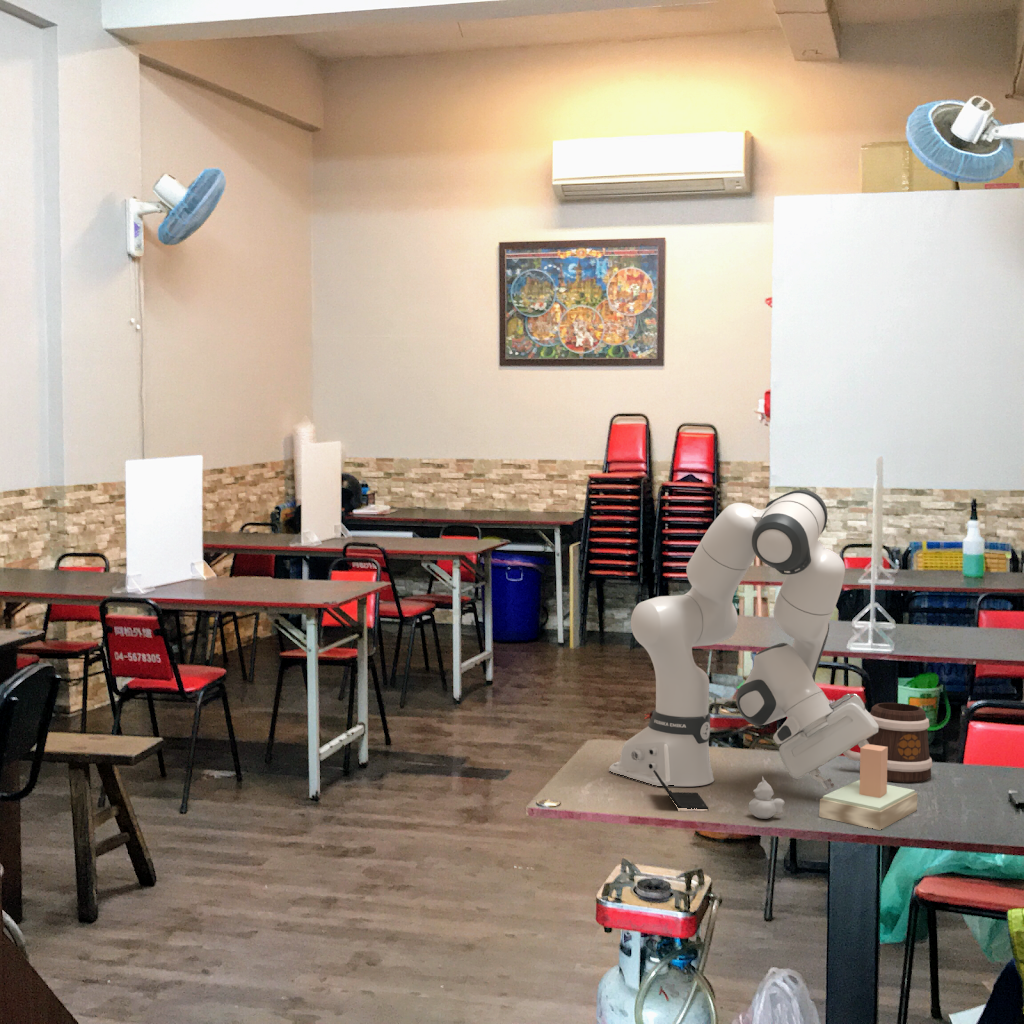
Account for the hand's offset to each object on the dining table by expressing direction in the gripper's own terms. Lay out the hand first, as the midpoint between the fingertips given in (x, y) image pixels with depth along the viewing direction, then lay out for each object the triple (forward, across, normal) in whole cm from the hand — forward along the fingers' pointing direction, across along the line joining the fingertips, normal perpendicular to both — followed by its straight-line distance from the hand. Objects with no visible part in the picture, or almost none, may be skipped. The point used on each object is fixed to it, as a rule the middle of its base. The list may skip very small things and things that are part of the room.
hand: (850, 777), depth 235 cm
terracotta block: (+5, -3, +2) cm, 6 cm away
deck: (+8, 0, +2) cm, 8 cm away
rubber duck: (0, +13, +17) cm, 21 cm away
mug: (+2, +3, -31) cm, 31 cm away
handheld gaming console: (-11, +27, +18) cm, 34 cm away
